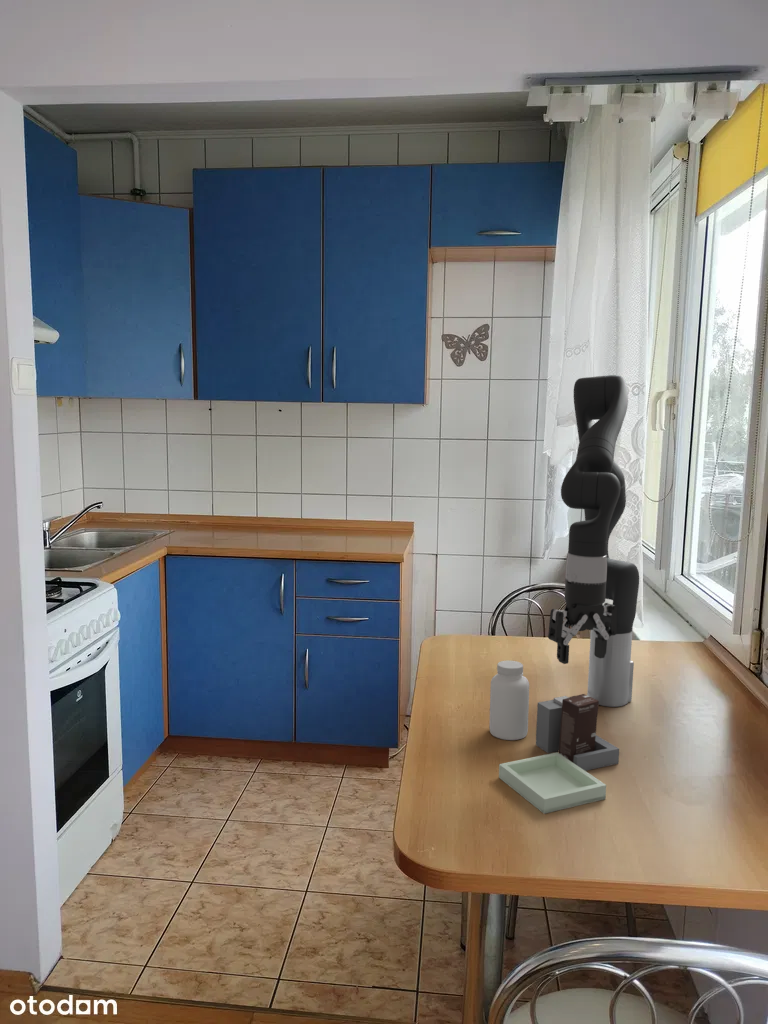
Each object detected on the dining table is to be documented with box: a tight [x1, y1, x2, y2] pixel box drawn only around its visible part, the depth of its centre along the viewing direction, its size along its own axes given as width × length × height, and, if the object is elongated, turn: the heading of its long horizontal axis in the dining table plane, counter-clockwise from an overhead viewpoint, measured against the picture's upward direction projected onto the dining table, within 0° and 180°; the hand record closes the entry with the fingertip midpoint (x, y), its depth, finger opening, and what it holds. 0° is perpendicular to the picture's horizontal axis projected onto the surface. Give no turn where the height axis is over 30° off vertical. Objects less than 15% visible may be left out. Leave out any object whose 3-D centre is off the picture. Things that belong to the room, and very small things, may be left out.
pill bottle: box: [489, 660, 530, 741], centre depth 164 cm, size 8×8×15 cm
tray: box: [498, 751, 607, 815], centre depth 141 cm, size 13×14×3 cm
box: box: [557, 693, 599, 762], centre depth 153 cm, size 6×4×12 cm
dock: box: [535, 695, 620, 772], centre depth 155 cm, size 10×13×10 cm
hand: (581, 660), depth 151 cm, fingers open, 8 cm apart
